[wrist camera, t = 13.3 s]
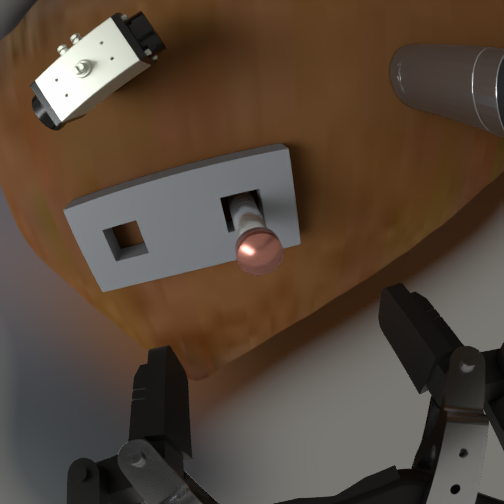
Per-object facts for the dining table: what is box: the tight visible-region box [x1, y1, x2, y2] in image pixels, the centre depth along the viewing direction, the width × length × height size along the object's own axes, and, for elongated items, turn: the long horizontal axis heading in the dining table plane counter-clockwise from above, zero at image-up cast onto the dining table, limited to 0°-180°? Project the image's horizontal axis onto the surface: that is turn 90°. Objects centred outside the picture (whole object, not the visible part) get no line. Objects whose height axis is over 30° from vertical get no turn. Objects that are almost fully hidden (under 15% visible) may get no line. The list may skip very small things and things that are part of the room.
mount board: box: [63, 143, 301, 292], centre depth 35 cm, size 26×12×3 cm, turn 101°
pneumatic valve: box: [30, 11, 166, 130], centre depth 21 cm, size 6×12×12 cm, turn 119°
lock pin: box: [228, 191, 284, 276], centre depth 31 cm, size 4×4×12 cm
